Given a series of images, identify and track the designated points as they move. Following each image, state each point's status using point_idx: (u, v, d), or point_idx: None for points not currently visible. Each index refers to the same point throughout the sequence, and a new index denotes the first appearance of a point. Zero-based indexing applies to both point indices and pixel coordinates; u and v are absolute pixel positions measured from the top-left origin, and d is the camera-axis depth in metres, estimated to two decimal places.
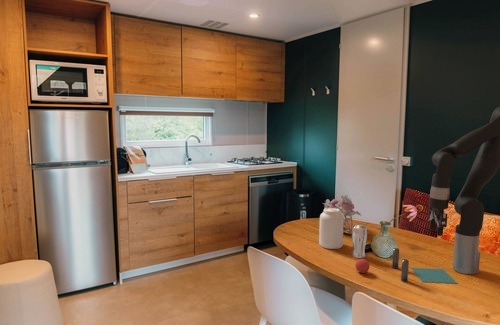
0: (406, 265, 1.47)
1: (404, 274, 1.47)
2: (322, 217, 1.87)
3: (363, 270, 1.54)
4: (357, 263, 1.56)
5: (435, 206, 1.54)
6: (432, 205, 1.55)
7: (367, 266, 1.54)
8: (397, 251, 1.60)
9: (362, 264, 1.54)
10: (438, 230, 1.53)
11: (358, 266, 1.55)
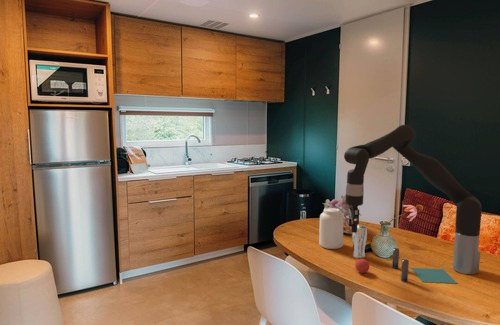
0: (406, 265, 1.47)
1: (404, 274, 1.47)
2: (322, 217, 1.87)
3: (363, 270, 1.54)
4: (357, 263, 1.56)
5: (349, 203, 1.53)
6: (347, 202, 1.55)
7: (367, 266, 1.54)
8: (397, 251, 1.60)
9: (362, 264, 1.54)
10: (352, 227, 1.53)
11: (358, 266, 1.55)
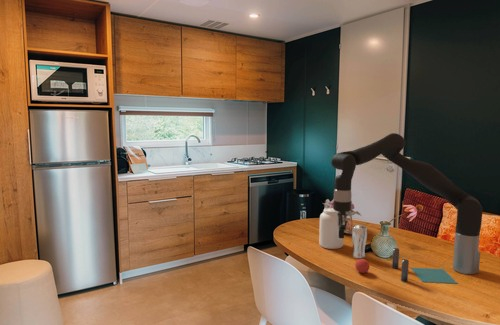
0: (406, 265, 1.47)
1: (404, 274, 1.47)
2: (322, 217, 1.87)
3: (363, 270, 1.54)
4: (357, 263, 1.56)
5: (337, 209, 1.52)
6: (335, 208, 1.53)
7: (367, 266, 1.54)
8: (397, 251, 1.60)
9: (362, 264, 1.54)
10: (339, 233, 1.56)
11: (358, 266, 1.55)
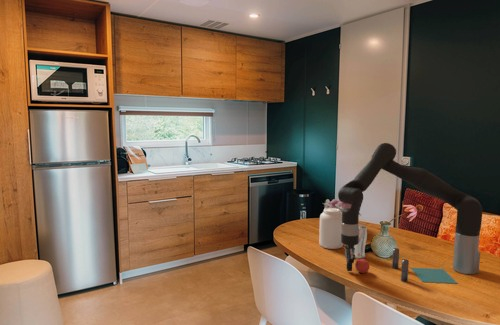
0: (406, 265, 1.47)
1: (404, 274, 1.47)
2: (322, 217, 1.87)
3: (363, 270, 1.54)
4: (357, 263, 1.56)
5: (345, 242, 1.53)
6: (342, 241, 1.54)
7: (367, 266, 1.54)
8: (397, 251, 1.60)
9: (362, 264, 1.54)
10: (347, 265, 1.56)
11: (358, 266, 1.55)
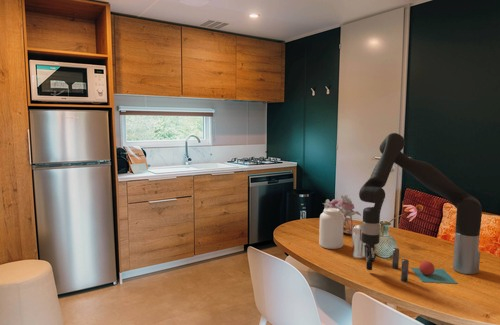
0: (406, 265, 1.47)
1: (404, 274, 1.47)
2: (322, 217, 1.87)
3: (428, 268, 1.51)
4: (434, 269, 1.53)
5: (366, 241, 1.53)
6: (363, 240, 1.54)
7: (426, 273, 1.52)
8: (397, 251, 1.60)
9: (431, 273, 1.52)
10: (367, 265, 1.56)
11: (433, 268, 1.52)
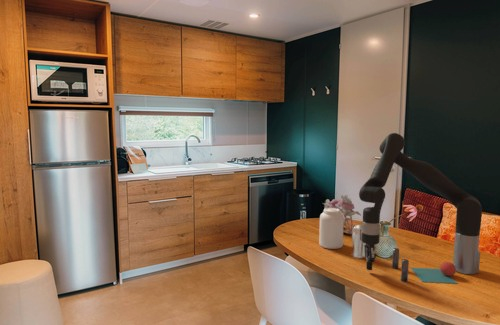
0: (406, 265, 1.47)
1: (404, 274, 1.47)
2: (322, 217, 1.87)
3: (452, 273, 1.51)
4: (442, 271, 1.53)
5: (366, 241, 1.53)
6: (363, 240, 1.54)
7: (452, 267, 1.51)
8: (397, 251, 1.60)
9: (447, 269, 1.51)
10: (367, 265, 1.56)
11: (445, 273, 1.52)
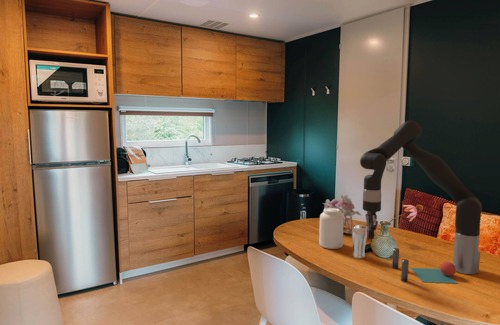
0: (406, 265, 1.47)
1: (404, 274, 1.47)
2: (322, 217, 1.87)
3: (452, 273, 1.51)
4: (442, 271, 1.53)
5: (367, 209, 1.51)
6: (364, 208, 1.52)
7: (452, 267, 1.51)
8: (397, 251, 1.60)
9: (447, 269, 1.51)
10: (369, 233, 1.54)
11: (445, 273, 1.52)
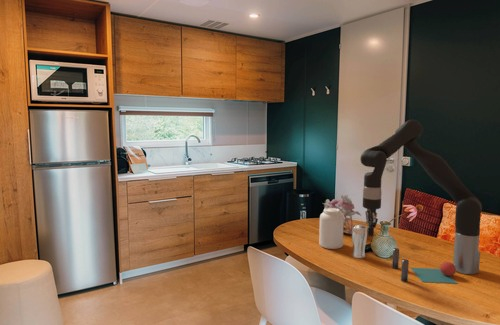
0: (406, 265, 1.47)
1: (404, 274, 1.47)
2: (322, 217, 1.87)
3: (452, 273, 1.51)
4: (442, 271, 1.53)
5: (367, 206, 1.51)
6: (364, 205, 1.52)
7: (452, 267, 1.51)
8: (397, 251, 1.60)
9: (447, 269, 1.51)
10: (369, 231, 1.54)
11: (445, 273, 1.52)
